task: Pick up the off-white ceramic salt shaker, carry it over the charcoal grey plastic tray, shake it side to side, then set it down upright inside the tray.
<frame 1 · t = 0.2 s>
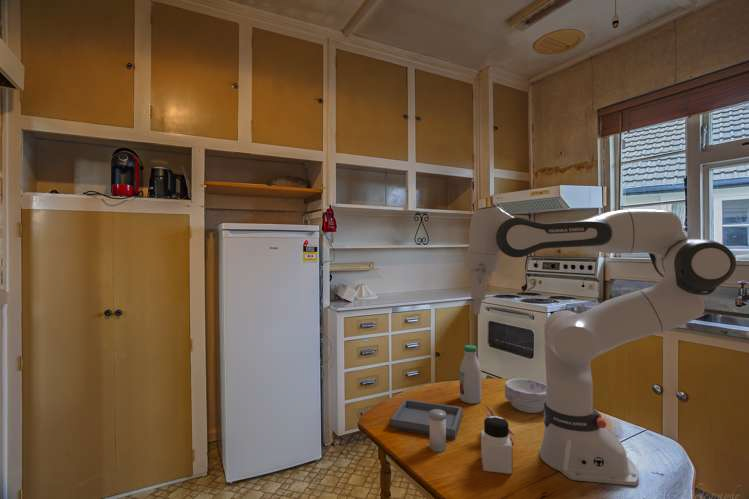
hand: (476, 310, 108), 39 cm above the table, tool pointing down, fingers open, 8 cm apart
medicine bottle: (496, 465, 98), on the table
paper bowls: (527, 408, 133), on the table
shaker: (437, 447, 107), on the table
milk bottle: (470, 400, 139), on the table
tray: (427, 422, 122), on the table
lily: (498, 441, 111), on the table
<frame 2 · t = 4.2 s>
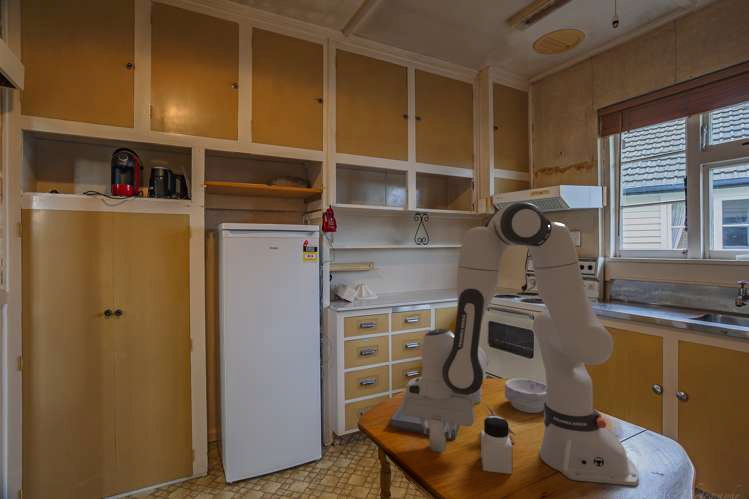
hand: (437, 434, 107), 4 cm above the table, tool pointing down, fingers closed on shaker, 5 cm apart
shaker: (437, 447, 107), on the table, touching gripper
everything else where it was.
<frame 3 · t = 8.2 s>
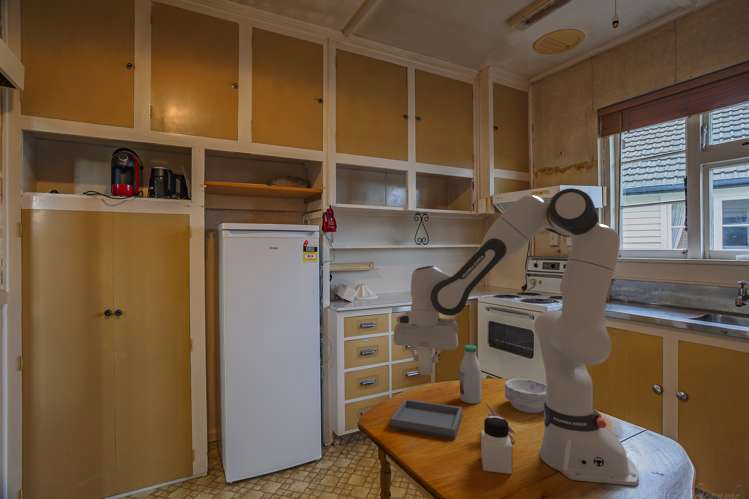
hand: (425, 361, 119), 21 cm above the table, tool pointing down, fingers closed on shaker, 5 cm apart
shaker: (425, 372, 119), point 17 cm above the table, touching gripper
everything else where it was.
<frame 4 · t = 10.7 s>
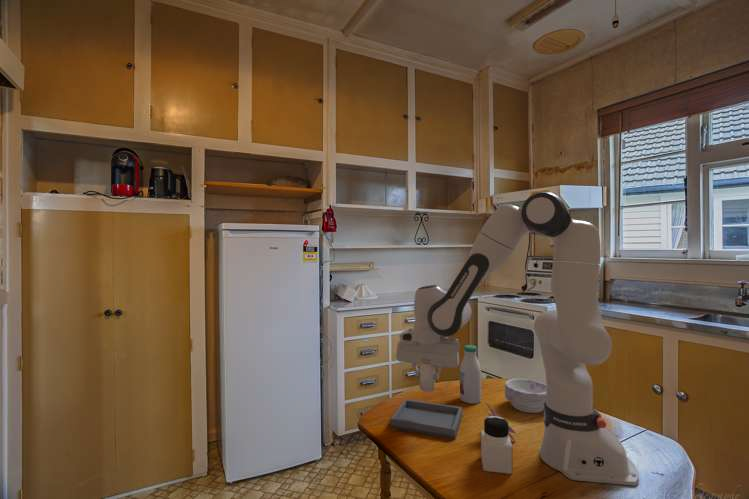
hand: (427, 377, 122), 15 cm above the table, tool pointing down, fingers closed on shaker, 5 cm apart
shaker: (427, 388, 122), point 11 cm above the table, touching gripper
when the fingers open (6 cm above the table, at t = 12.6 s): shaker drops 1 cm, resting on tray.
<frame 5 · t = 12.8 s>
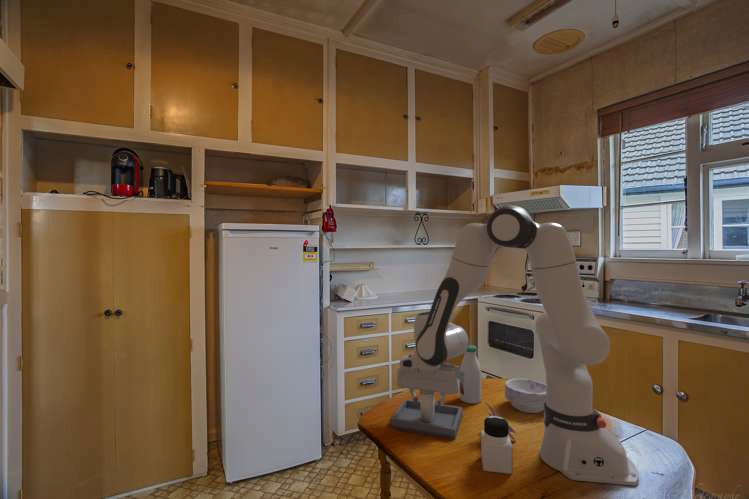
hand: (427, 403, 122), 6 cm above the table, tool pointing down, fingers open, 7 cm apart
shaker: (427, 418, 122), point 1 cm above the table, touching tray
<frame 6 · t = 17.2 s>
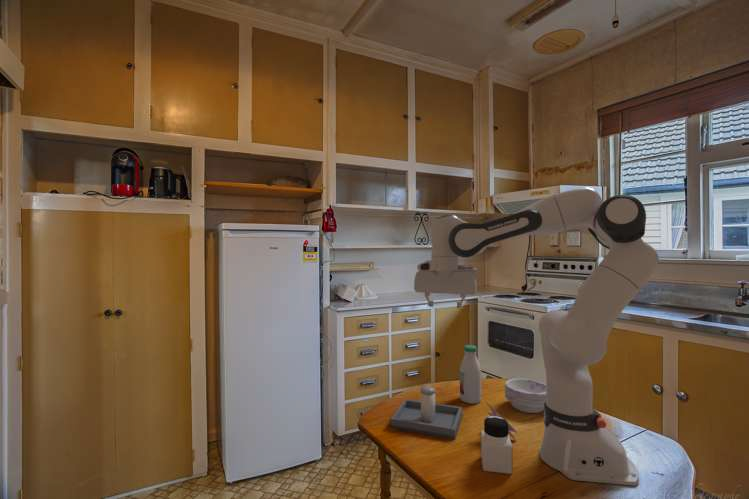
hand: (444, 307, 123), 37 cm above the table, tool pointing down, fingers open, 8 cm apart
at the end: shaker inside the target area on the tray (0.1 cm from its centre), point 1.0 cm above the tray's base; shaker tilted 0°; the gripper is holding nothing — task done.
